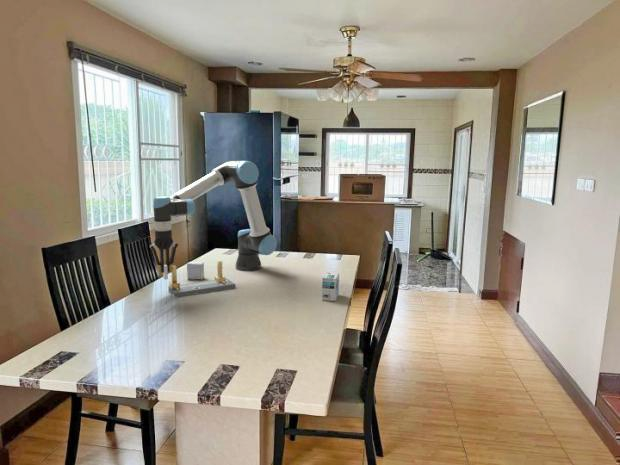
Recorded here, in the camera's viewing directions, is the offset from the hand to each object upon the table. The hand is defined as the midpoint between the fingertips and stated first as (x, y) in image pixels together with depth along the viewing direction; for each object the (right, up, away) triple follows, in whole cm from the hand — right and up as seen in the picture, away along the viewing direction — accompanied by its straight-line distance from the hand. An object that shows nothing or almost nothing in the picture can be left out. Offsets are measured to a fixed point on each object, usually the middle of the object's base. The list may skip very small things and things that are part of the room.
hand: (165, 278), depth 210 cm
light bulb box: (+78, -9, -2) cm, 79 cm away
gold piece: (+4, -5, +1) cm, 7 cm away
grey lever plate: (+15, -6, +8) cm, 19 cm away
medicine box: (+8, -3, +27) cm, 28 cm away
